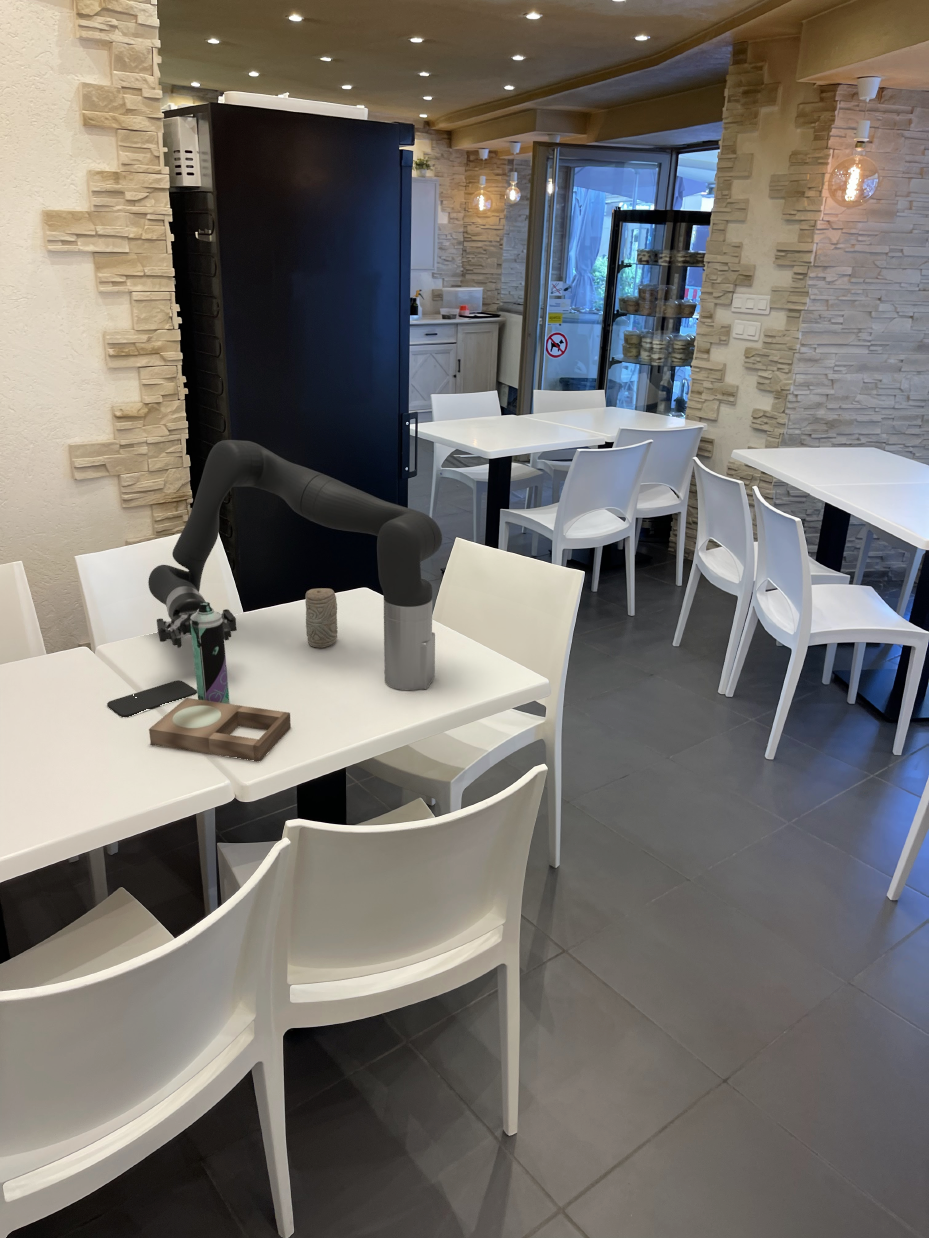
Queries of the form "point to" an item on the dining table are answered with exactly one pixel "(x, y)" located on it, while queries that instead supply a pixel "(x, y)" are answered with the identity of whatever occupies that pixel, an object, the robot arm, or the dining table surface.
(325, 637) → the carving
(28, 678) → the dining table surface
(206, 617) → the spray can
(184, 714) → the walnut tray
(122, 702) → the phone
